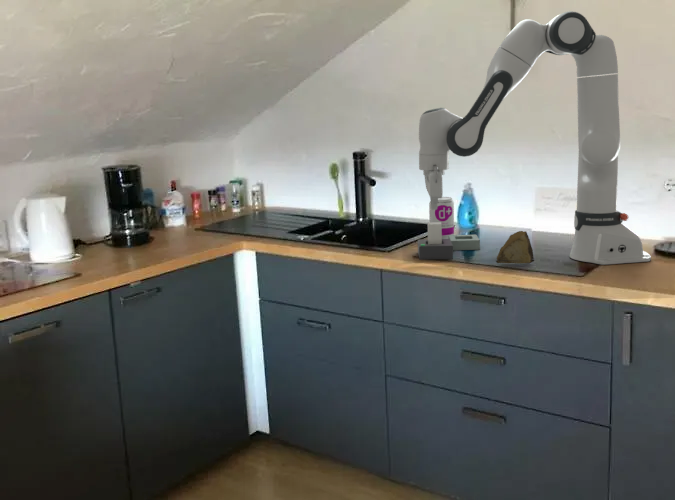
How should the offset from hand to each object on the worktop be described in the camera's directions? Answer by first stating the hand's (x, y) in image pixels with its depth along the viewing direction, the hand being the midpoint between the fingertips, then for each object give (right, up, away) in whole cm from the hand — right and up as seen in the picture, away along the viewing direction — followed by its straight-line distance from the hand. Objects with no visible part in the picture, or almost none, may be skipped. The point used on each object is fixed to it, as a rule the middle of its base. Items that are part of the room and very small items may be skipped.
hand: (434, 209), depth 218 cm
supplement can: (+6, -10, +26) cm, 29 cm away
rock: (+23, -16, -5) cm, 29 cm away
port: (+1, -15, +3) cm, 15 cm away
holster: (+11, -12, +13) cm, 21 cm away
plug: (+1, -13, +3) cm, 13 cm away
